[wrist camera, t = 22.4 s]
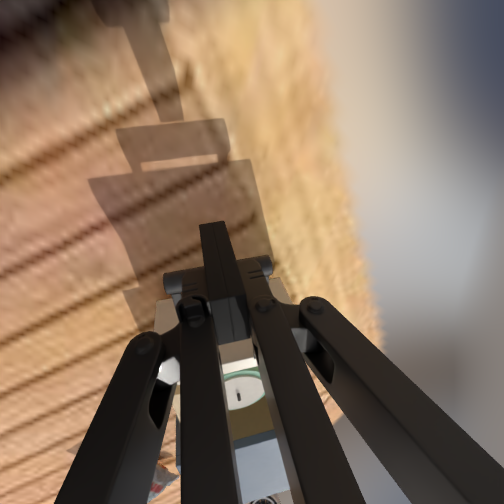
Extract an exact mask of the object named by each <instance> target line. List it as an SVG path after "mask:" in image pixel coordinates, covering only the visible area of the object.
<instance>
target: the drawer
mask: <svg viewBox="0 0 504 504" xmlns="http://www.w3.org/2000/svg"><path fill="white" fill-rule="evenodd" d="M248 259H255V260H256V261H257V262H258V263H260V266H261V268H262V271H263V273H264V276H265V278H266V280H267V282H268V285H269V287H270V289H271V292H272V294H273V296H274V297H275V298H277V300H278V301H280V302H282V303H285V304H292V305H293V303H292V301H291V299H290V297H289V295H288V293H287V291H286V289H285V287H284V285H283V283H282V281H281V279H280V277H278V278H273V279H269V275H272V273H273V267H272V262H271V259H270V257H269V255H263V256H258V257H252V258H247V259H241V260H236V262H237V261H242V260H248ZM202 268H204V266H202V267H197V268H191V269H185V270H180V271H174V272H169V273H164V274H163V284H164V289H165V292H166V294H167V295H169V294H171V296H172V298H170V299H165V300H159V301H156V312H155V323H154V332H157V333H158V334H160V335H161V334H163V333H165V332H167V331H169V330H171V329H173V328H174V327H175V326H176V325H177V324H178V323H179V320H178V317H177V314H176V310H175V307H176V304H177V303H178V301H179V300H180V299H182V293H181V292H182V277H183V275H184V274H185V272H186V271H191V270H197V269H202ZM219 351H220V356H221V362H222V369H223V374H227V373H231V372H235V371H239V370H244V369H248V368H252V367H256V366H257V362H256V359H254V353H253V343H252V338H250V339H245V340H241V341H236V342H232V343H228V344H223V345H219ZM172 405H173V407H174V410H175V412H176V415H177V417H178V419H179V422H180V381H178V382H177V386H176V390H175V394H174V398H173V402H172ZM229 415H230V422H231V429H232V435H233V441H234V440H237V439H241V438H244V437H248V436H252V435H255V434H259V433H262V432H266V431H270V430H273V429H274V426H273V423H272V419H271V415H270V411H269V407H268V404H267V400H266V396H265V395H264V396H263V397H262V398H261V399H260V400H258V401H257V402H255V403H253V404H251V405H249V406H247V407H244V408H240V409H236V410H229Z"/></svg>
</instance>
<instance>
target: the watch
mask: <svg viewBox="0 0 504 504" xmlns="http://www.w3.org/2000/svg"><path fill="white" fill-rule="evenodd" d="M249 504H281V503H280V500H279V497H278V494H277V493H276V494H273V495H270V496H267V497H264V498H261V499H257V500H254V501H251V502H249Z"/></svg>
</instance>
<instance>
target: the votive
mask: <svg viewBox="0 0 504 504" xmlns="http://www.w3.org/2000/svg"><path fill="white" fill-rule="evenodd" d="M223 375H224V382H225V389H226V395H227V402H228V409H229V410H236V409H240V408H244V407H247V406H249V405H251V404H253V403H255V402H257V401H258V400H260V399H261V398H262V397H263V396H264V395H265V392H264V388H263V385H262V381H261V377H260V373H259V369H258V366H256V367H252V368H248V369H244V370H239V371H235V372H231V373H227V374H223Z"/></svg>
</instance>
